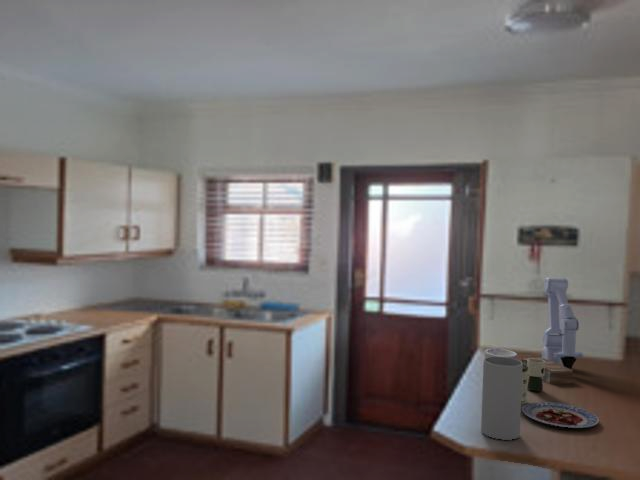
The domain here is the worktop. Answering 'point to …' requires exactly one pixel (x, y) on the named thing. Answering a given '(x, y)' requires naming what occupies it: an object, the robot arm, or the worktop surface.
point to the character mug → (535, 374)
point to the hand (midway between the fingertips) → (567, 372)
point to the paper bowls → (500, 353)
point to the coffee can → (524, 384)
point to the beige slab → (554, 372)
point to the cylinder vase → (501, 397)
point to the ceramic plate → (560, 415)
